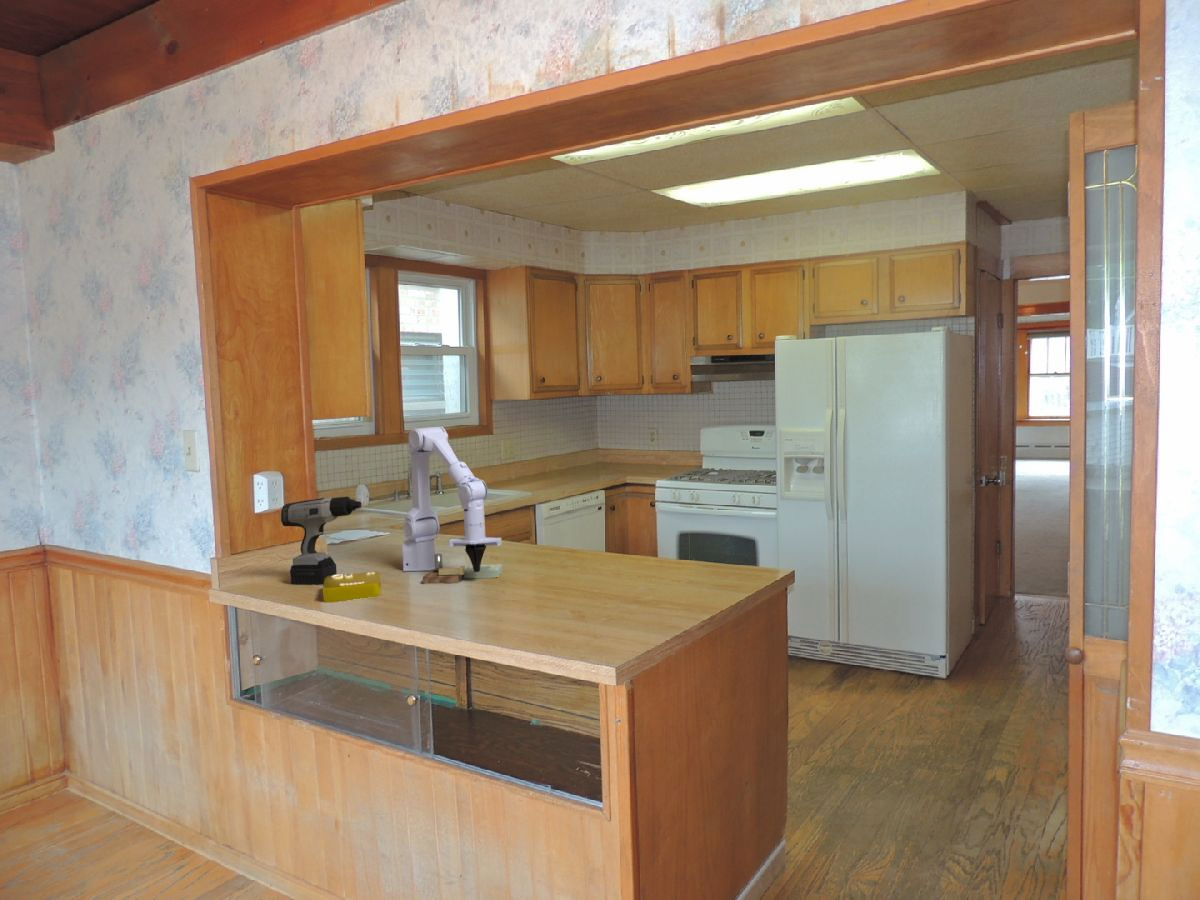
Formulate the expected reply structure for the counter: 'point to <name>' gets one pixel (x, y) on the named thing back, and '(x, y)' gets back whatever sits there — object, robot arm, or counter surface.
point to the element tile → (351, 586)
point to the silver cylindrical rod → (438, 562)
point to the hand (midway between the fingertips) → (477, 571)
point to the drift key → (452, 571)
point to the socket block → (441, 578)
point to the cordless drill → (314, 535)
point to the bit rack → (484, 571)
